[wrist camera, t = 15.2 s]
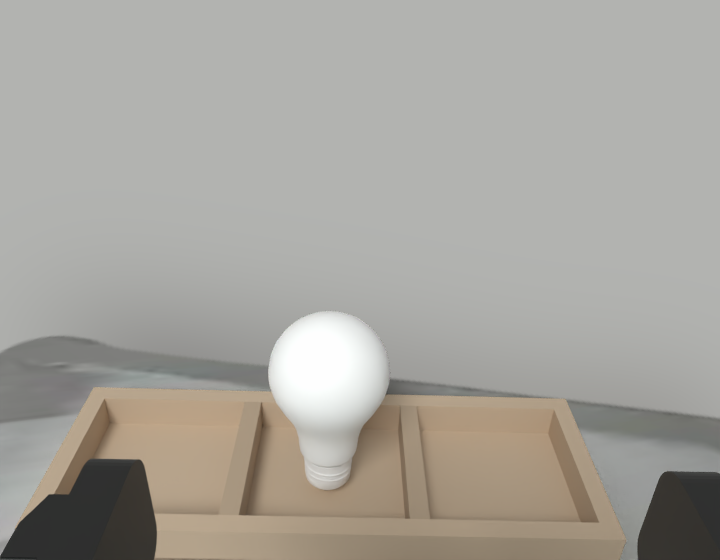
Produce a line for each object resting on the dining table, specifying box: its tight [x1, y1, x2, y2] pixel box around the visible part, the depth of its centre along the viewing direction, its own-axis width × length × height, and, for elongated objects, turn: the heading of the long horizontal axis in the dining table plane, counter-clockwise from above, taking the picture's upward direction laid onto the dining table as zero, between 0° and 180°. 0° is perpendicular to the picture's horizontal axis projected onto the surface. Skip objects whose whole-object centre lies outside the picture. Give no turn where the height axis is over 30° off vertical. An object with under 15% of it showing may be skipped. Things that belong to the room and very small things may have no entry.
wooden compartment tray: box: [15, 387, 626, 560], centre depth 36 cm, size 30×10×3 cm, turn 90°
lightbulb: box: [268, 311, 390, 490], centre depth 33 cm, size 6×6×11 cm
